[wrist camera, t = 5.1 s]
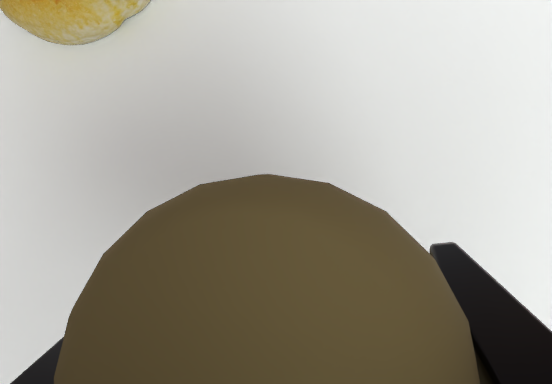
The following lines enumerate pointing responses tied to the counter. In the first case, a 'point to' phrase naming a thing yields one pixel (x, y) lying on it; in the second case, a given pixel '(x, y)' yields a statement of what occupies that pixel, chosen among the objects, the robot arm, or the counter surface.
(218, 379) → the cork
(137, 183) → the counter surface
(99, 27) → the bread roll
